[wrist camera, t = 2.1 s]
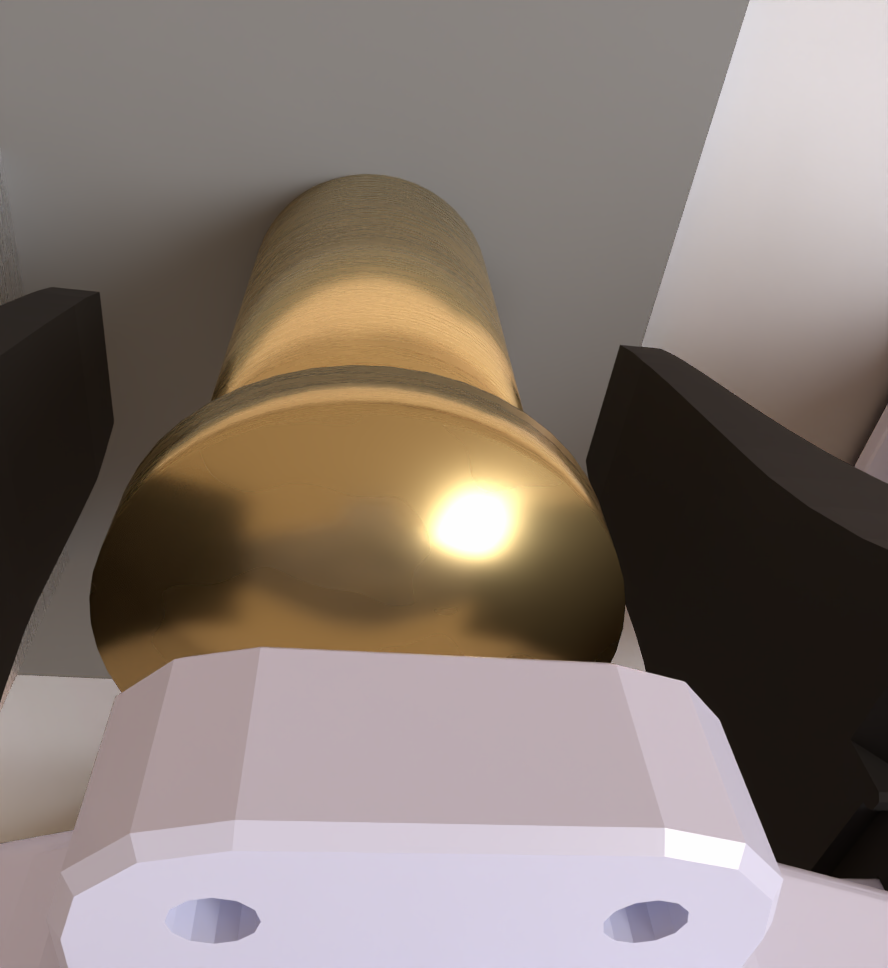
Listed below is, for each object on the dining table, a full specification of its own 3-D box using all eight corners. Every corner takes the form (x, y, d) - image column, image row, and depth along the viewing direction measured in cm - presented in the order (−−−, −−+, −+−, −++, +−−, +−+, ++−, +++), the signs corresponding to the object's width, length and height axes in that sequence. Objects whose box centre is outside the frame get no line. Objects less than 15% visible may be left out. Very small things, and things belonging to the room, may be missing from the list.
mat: (746, -35, 12) (758, -31, 12) (528, 682, 21) (530, 697, 21) (-1221, -372, 9) (-1295, -383, 9) (-475, 634, 18) (-494, 651, 18)
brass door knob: (543, 162, 13) (696, 443, 7) (489, 425, 16) (559, 796, 10) (221, 120, 12) (52, 386, 6) (225, 403, 15) (116, 783, 9)
